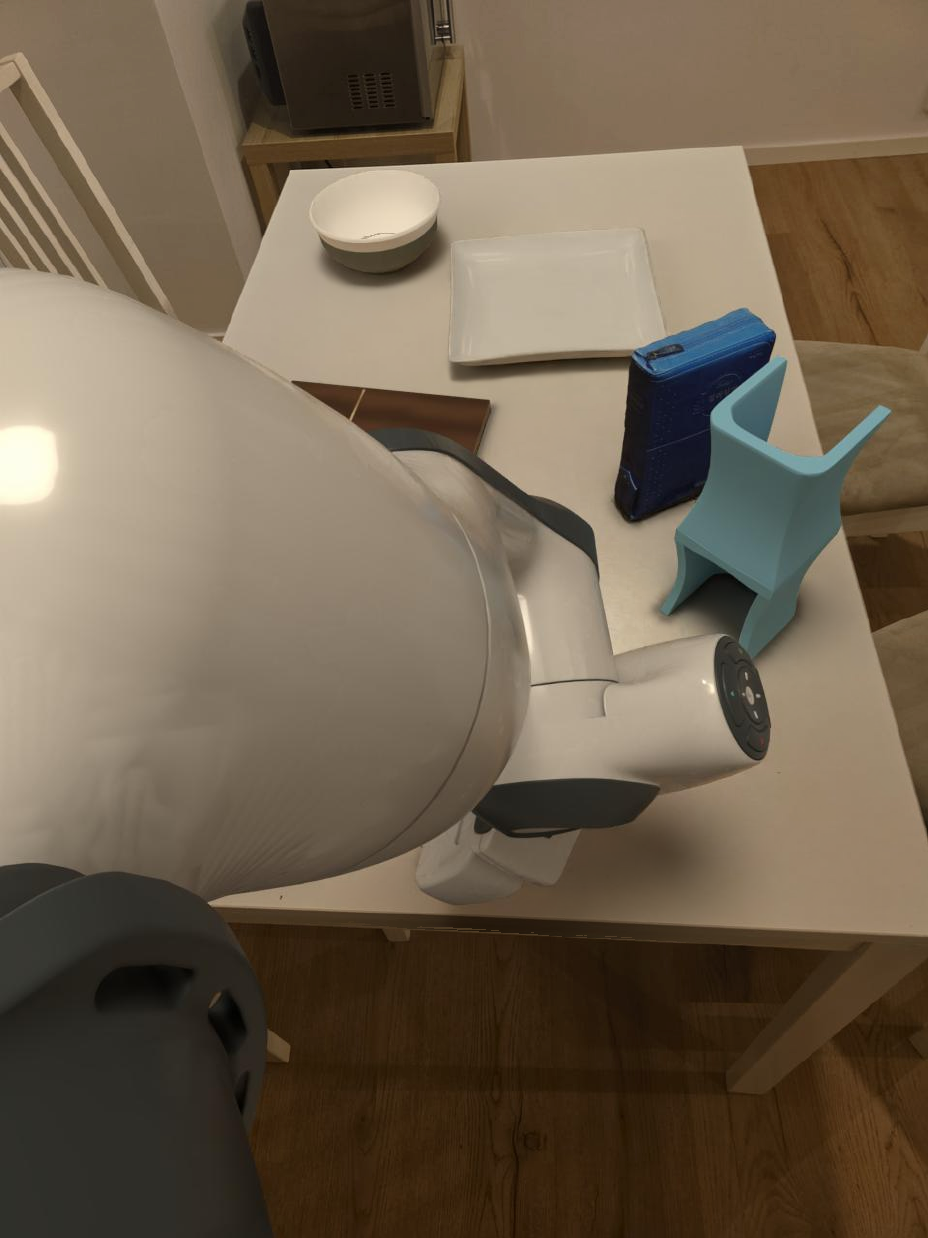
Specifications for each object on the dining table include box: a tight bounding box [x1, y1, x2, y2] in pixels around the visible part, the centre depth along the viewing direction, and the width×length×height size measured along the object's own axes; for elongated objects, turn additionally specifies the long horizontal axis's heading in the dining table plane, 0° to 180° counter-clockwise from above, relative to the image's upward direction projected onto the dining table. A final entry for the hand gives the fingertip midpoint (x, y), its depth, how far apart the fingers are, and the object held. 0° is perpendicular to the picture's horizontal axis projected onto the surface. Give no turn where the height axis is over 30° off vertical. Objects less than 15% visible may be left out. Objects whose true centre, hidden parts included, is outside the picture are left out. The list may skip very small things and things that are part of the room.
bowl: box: [308, 169, 442, 275], centre depth 116 cm, size 19×19×8 cm
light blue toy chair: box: [659, 354, 893, 661], centre depth 70 cm, size 10×10×25 cm
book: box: [613, 307, 777, 521], centre depth 81 cm, size 14×5×20 cm, turn 115°
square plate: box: [447, 227, 670, 367], centre depth 107 cm, size 27×27×4 cm
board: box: [290, 380, 492, 456], centre depth 90 cm, size 42×26×2 cm, turn 166°
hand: (426, 777), depth 65 cm, fingers open, 8 cm apart
